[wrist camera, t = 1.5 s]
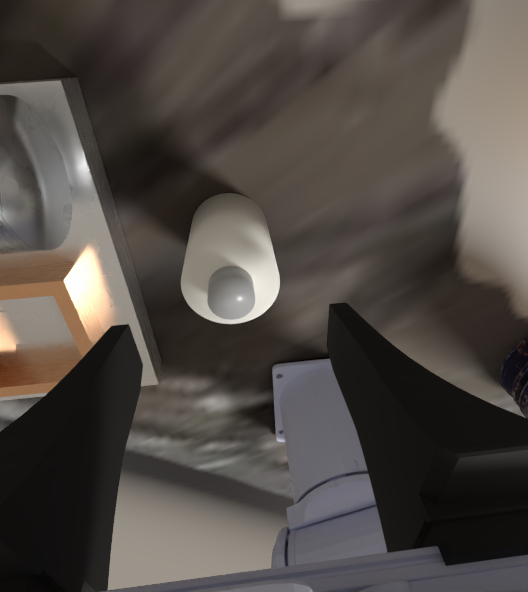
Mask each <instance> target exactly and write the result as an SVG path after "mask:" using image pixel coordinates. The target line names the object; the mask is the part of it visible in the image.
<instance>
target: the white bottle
mask: <svg viewBox="0 0 528 592" xmlns="http://www.w3.org/2000/svg"><path fill="white" fill-rule="evenodd" d="M279 287H280V277H279V272H278V268H277V264H276V259H275V255H274V251H273V247H272V243H271V239H270V235H269V230H268V226H267V222H266V218H265V216H264V213H263V212H262V210H261V209H260V207H259V206H258V205H257V204H256V203H255V202H254V201H252V200H251V199H249V198H247V197H245V196H243V195H240V194H235V193H222V194H218V195H215V196H212V197H210V198H208V199H207V200H205V201H204V202H203V203H202V204H201V205H200V206H199V207H198V209H197V210H196V212H195V214H194V216H193V219H192V224H191V229H190V234H189V240H188V245H187V250H186V255H185V260H184V265H183V271H182V276H181V289H182V293H183V296H184V298H185V300H186V302H187V303H188V305H189V306H190V307H191V308H192V309H193V310H194V311H195V312H196V313H197V314H199V315H200V316H202V317H204V318H206V319H208V320H211V321H213V322H217V323H223V324H237V323H243V322H247V321H250V320H252V319H255V318H257V317H259V316H260V315H262V314H263V313H264V312H265V311H267V310H268V309H269V308H270V307H271V305H272V304H273V303H274V301H275V299H276V297H277V295H278V292H279Z"/></svg>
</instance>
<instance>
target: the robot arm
mask: <svg viewBox="0 0 528 592" xmlns="http://www.w3.org/2000/svg"><path fill="white" fill-rule="evenodd" d="M327 349H328V353H329V357H330V359H321V360H311V361H301V362H291V363H282V364H276V365H274V366H273V367H272V377H273V395H274V412H275V430H276V440H277V441H278V442H285V443H286V449H287V456H288V462H289V469H290V476H291V482H292V489H293V495H294V502H295V505H293V506H290V507H288V508H287V517H288V524H289V526H288V527H284V528H282V529H281V530H280V531H279V534H278V536H277V540H276V543H275V545H274V548H273V552H272V564H271V569H263V570H256V571H249V572H241V573H234V574H226V575H219V576H212V577H205V578H197V579H190V580H182V581H175V582H167V583H160V584H152V585H145V586H138V587H131V588H123V589H116V590H108V591H107V588H108V576H109V564H110V552H111V543H112V534H113V524H114V515H115V507H116V500H117V492H118V486H119V479H120V473H121V466H122V460H123V456H124V451H125V447H126V443H127V439H128V436H129V432H130V428H131V424H132V420H133V417H134V413H135V409H136V405H137V401H138V397H139V393H140V388H141V380H142V371H143V363H142V360H141V357H140V354H139V351H138V349H137V346H136V343H135V340H134V337H133V334H132V331H131V329H130V326H129V324H125V325H115V326H111V327H110V328H109V329H108V330H107V331H106V332H105V333H104V335H103V336H102V337H101V338H100V339H99V340H98V341H97V342H96V344H95V345H94V346H93V347H92V348H91V349H90V350H89V351H88V352H87V354H86V355H85V356H84V357H83V358H82V359H81V360H80V361H79V362H78V363H77V364H76V366H75V367H74V368H73V369H72V370H71V371H70V372H69V373H68V374H67V375H66V376H65V377H64V378H63V379H62V380H61V381H60V382H59V383H58V384H57V385H56V386H55V387H54V388H53V389H52V390H51V391H49V392H48V393H47V394H46V395H45V396H44V397H43V398H42V399H41V400H40V401H38V402H37V403H36V404H35V405H34V406H32V407H31V408H30V409H29V410H28V411H27V412H25V413H24V414H23V415H22V416H20V417H19V418H18V419H17V420H15V421H14V422H13V423H11V424H10V425H9V426H8V427H6V428H5V429H3V430H2V431H1V432H0V592H528V419H527V418H524V417H522V416H519V415H517V414H514V413H512V412H509V411H507V410H505V409H502V408H500V407H497V406H495V405H493V404H490V403H488V402H486V401H484V400H482V399H480V398H478V397H476V396H474V395H472V394H470V393H468V392H466V391H464V390H462V389H460V388H458V387H456V386H454V385H453V384H451V383H449V382H447V381H445V380H444V379H442V378H440V377H438V376H437V375H435V374H433V373H432V372H430V371H429V370H427V369H426V368H424V367H423V366H421V365H420V364H418V363H417V362H415V361H414V360H412V359H411V358H409V357H408V356H407V355H405V354H404V353H403V352H401V351H400V350H399V349H397V348H396V347H395V346H394V345H392V344H391V343H390V342H389V341H387V340H386V339H385V338H384V337H383V336H382V335H381V334H379V333H378V332H377V331H376V330H375V329H374V328H373V327H372V326H370V325H369V324H368V323H367V322H366V321H365V320H364V319H363V318H362V317H361V316H360V315H359V314H358V313H357V312H356V311H355V310H354V309H353V308H352V307H350V306H349V305H348V304H347V303H336V304H330V305H329V319H328V334H327ZM278 374H281V375H278Z"/></svg>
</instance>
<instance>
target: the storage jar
mask: <svg viewBox="0 0 528 592" xmlns="http://www.w3.org/2000/svg"><path fill="white" fill-rule="evenodd" d="M500 382H501V385H502V386H503V388H504V389H505V390H506V392H507V393H508V394H509V395H511V396H512V397H513V398H514V401H515V402H516V404H517V405H518V406H519V407H520V410H521V412H522V413H523V414H524V416H525V417H526V418H527V419H528V336H527V337H526V338H524V339H523V340H522V341H521V342H519V343H518V344H517V345H516V346H515V347H514V348H513V349H512V351H511V352H510V353H509V354H508V356H507V357H506V359H505V361H504V362H503V365H502V367H501V370H500Z"/></svg>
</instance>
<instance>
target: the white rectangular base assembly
mask: <svg viewBox="0 0 528 592" xmlns="http://www.w3.org/2000/svg"><path fill="white" fill-rule="evenodd" d="M125 324H129V326H130V329H131V331H132V334H133V337H134V340H135V343H136V346H137V349H138V351H139V354H140V357H141V360H142V363H143V371H142V380H141V386H147V385H157V384H159V379H160V374H161V369H162V364H163V363H162V360H161V357H160V353H159V350H158V346H157V343H156V340H155V336H154V333H153V330H152V326H151V323H150V320H149V316H148V313H147V310H146V306H145V303H144V299H143V296H142V293H141V289H140V286H139V283H138V279H137V276H136V273H135V269H134V266H133V263H132V259H131V256H130V252H129V249H128V246H127V242H126V239H125V236H124V232H123V229H122V226H121V222H120V219H119V215H118V212H117V209H116V205H115V202H114V199H113V195H112V192H111V189H110V185H109V182H108V179H107V175H106V172H105V168H104V165H103V162H102V158H101V155H100V152H99V148H98V145H97V142H96V138H95V135H94V132H93V128H92V125H91V121H90V118H89V115H88V111H87V108H86V105H85V101H84V98H83V95H82V91H81V88H80V85H79V81H78V78H77V77H74V78H59V79H44V80H28V81H13V82H0V401H2V400H12V399H22V398H31V397H41V396H45V395H46V394H47V393H48V392H49V391H51V390H52V389H53V388H54V387H55V386H56V385H57V384H58V383H59V382H60V381H61V380H62V379H63V378H64V377H65V376H66V375H67V374H68V373H69V372H70V371H71V370H72V369H73V368H74V367H75V366H76V364H77V363H78V362H79V361H80V360H81V359H82V358H83V357H84V356H85V355H86V354H87V352H88V351H89V350H90V349H91V348H92V347H93V346H94V345H95V344H96V342H97V341H98V340H99V339H100V338H101V337H102V336H103V335H104V333H105V332H106V331H107V330H108V329H109V328H110V327H111V326H115V325H125Z"/></svg>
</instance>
